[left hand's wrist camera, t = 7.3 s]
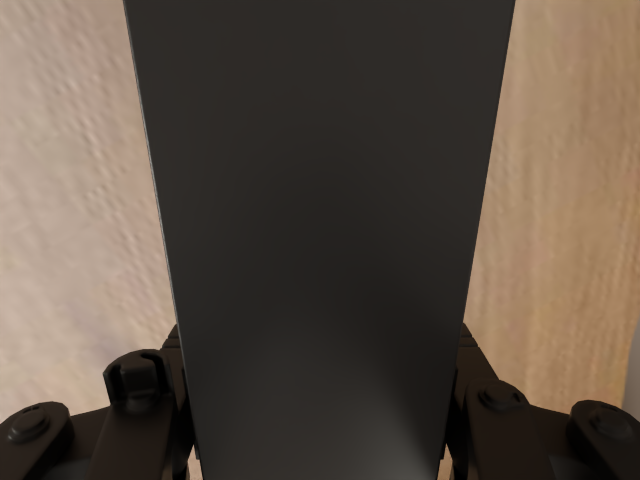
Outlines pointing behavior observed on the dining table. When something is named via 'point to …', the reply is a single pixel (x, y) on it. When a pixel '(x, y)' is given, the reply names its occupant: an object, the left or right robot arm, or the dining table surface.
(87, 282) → the dining table surface
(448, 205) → the bar
